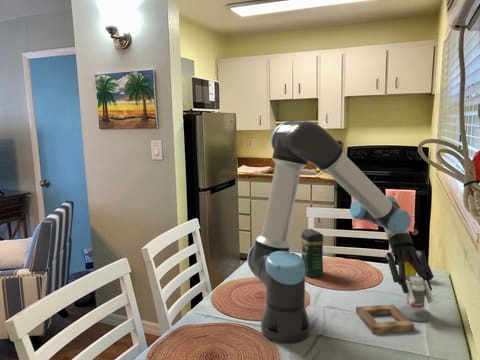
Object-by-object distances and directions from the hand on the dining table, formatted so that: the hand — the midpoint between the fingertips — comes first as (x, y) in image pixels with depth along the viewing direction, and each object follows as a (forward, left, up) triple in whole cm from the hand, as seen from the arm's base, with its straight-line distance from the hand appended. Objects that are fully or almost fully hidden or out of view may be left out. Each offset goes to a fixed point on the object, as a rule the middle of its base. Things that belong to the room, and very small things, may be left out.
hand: (421, 301), depth 123 cm
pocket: (-12, +1, -6) cm, 14 cm away
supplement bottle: (+13, +32, -6) cm, 35 cm away
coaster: (0, +4, -6) cm, 7 cm away
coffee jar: (-24, +42, -6) cm, 49 cm away
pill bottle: (0, +4, -4) cm, 5 cm away
